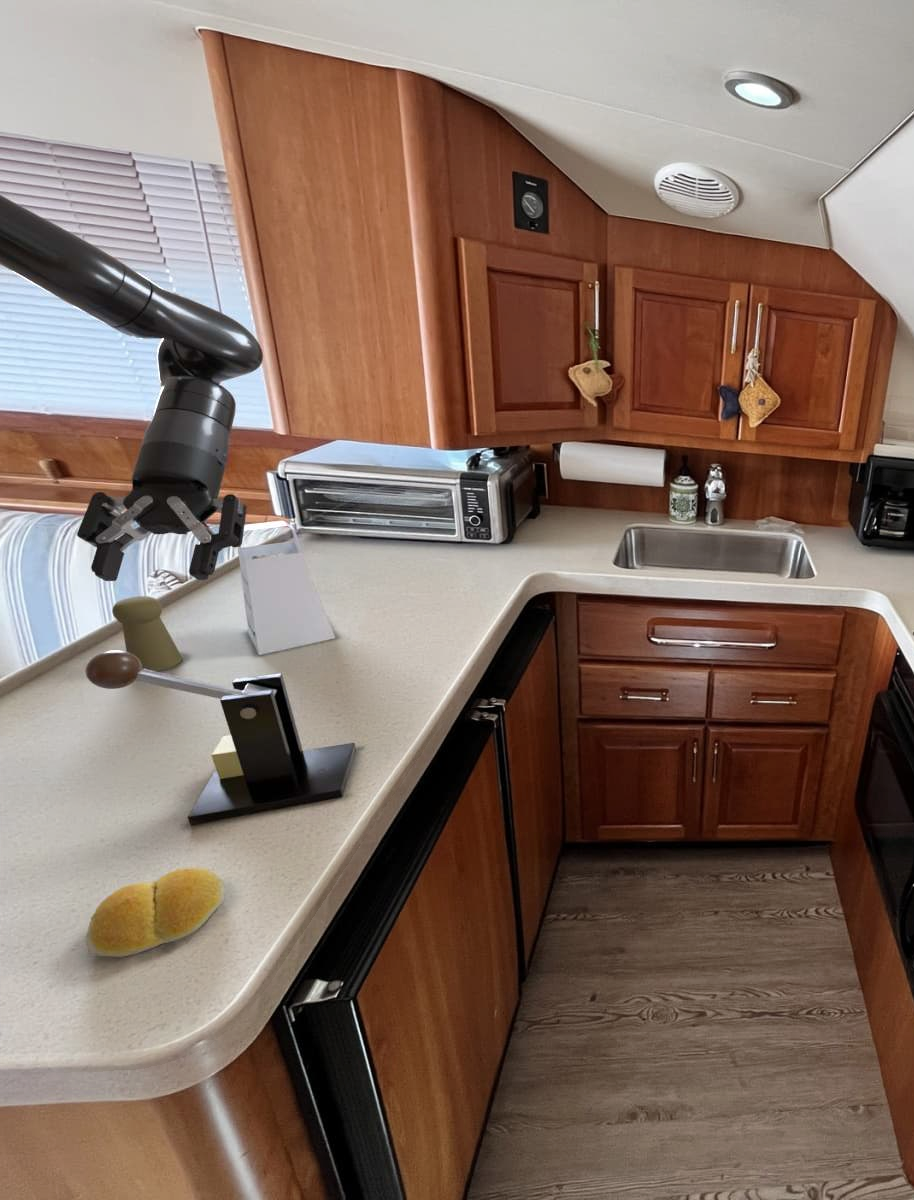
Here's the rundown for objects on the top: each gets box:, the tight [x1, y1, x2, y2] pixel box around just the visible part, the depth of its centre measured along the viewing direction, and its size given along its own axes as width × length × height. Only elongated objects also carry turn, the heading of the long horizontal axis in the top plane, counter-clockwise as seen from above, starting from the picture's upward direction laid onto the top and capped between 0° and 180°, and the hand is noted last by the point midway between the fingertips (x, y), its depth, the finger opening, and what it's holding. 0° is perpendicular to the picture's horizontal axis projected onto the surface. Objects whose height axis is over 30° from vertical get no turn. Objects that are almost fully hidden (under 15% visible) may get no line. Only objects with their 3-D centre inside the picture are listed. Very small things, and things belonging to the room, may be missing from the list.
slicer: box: [187, 673, 357, 826], centre depth 74 cm, size 14×10×14 cm
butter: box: [211, 734, 243, 779], centre depth 77 cm, size 4×4×4 cm
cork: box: [111, 595, 184, 672], centre depth 97 cm, size 6×6×11 cm
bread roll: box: [85, 867, 226, 958], centre depth 59 cm, size 8×9×4 cm
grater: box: [237, 520, 336, 656], centre depth 107 cm, size 10×10×20 cm
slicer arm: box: [85, 649, 277, 700], centre depth 69 cm, size 15×4×4 cm, turn 115°
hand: (152, 578), depth 71 cm, fingers open, 8 cm apart
